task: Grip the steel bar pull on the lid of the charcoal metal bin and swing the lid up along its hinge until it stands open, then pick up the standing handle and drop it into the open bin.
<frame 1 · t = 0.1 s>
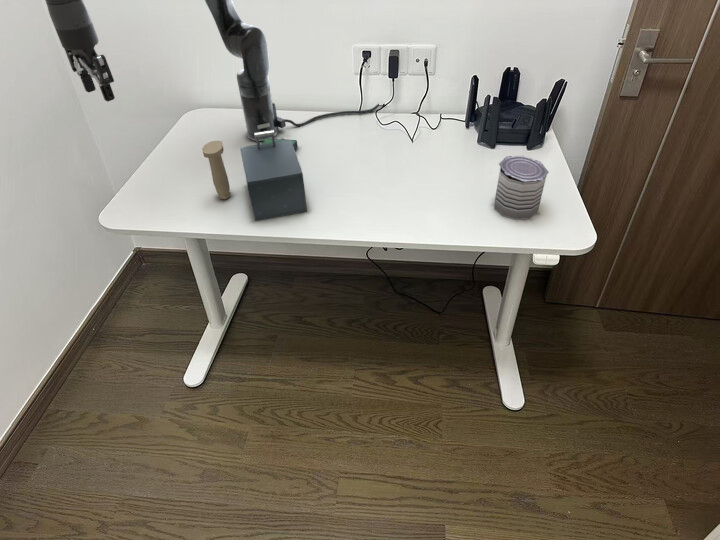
hand: (100, 95, 123), 29 cm above the table, tool pointing down, fingers open, 8 cm apart
disk drive: (274, 159, 156), on the table
bin: (276, 198, 141), on the table
bin lid: (268, 152, 132), point 14 cm above the table, hinge at 0.0°
can: (515, 207, 135), on the table
handle: (224, 197, 142), on the table
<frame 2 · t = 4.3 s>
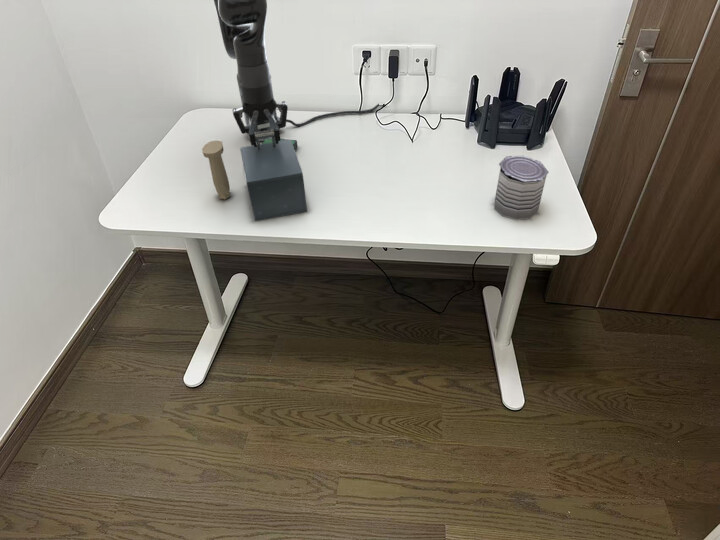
hand: (266, 143, 137), 13 cm above the table, tool pointing down, fingers closed on bin lid, 5 cm apart
bin lid: (268, 153, 132), point 14 cm above the table, hinge at 0.0°, touching gripper
everything else where it was.
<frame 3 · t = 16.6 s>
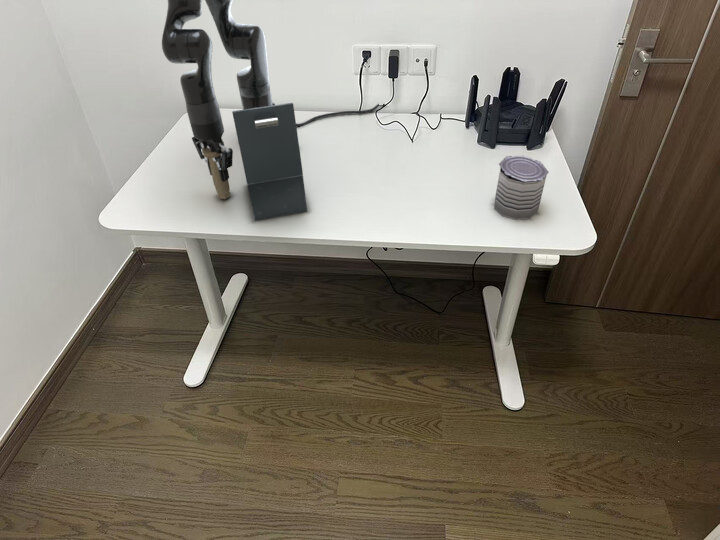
hand: (219, 176, 138), 6 cm above the table, tool pointing down, fingers closed on handle, 4 cm apart
bin lid: (270, 148, 120), point 20 cm above the table, hinge at 83.1°
handle: (224, 197, 142), on the table, touching gripper
everything else where it was.
when the fingers open (7 cm above the table, at t = 24.1 s): handle stays where it is, resting on bin.
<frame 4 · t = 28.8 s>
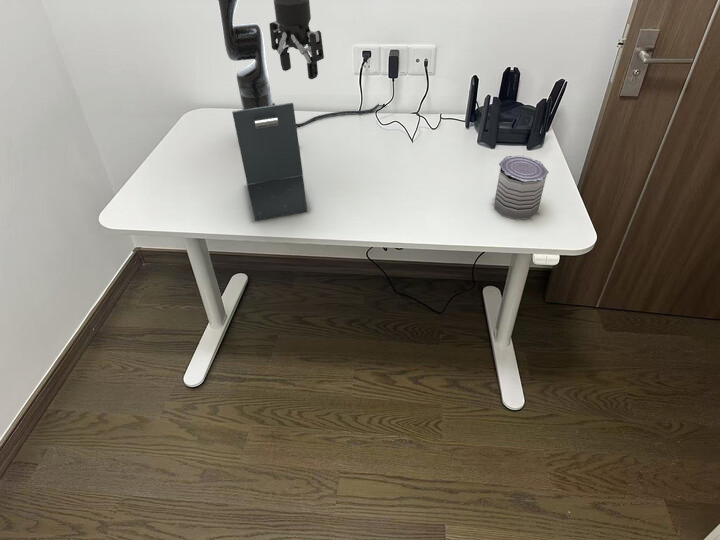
hand: (299, 73, 122), 32 cm above the table, tool pointing down, fingers open, 8 cm apart
handle: (275, 194, 141), point 1 cm above the table, touching bin
everything else where it was.
at the end: bin lid at +83° (first picture: +0°); handle inside the target area in the bin (1.0 cm from its centre), point 0.6 cm above the bin's base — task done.
